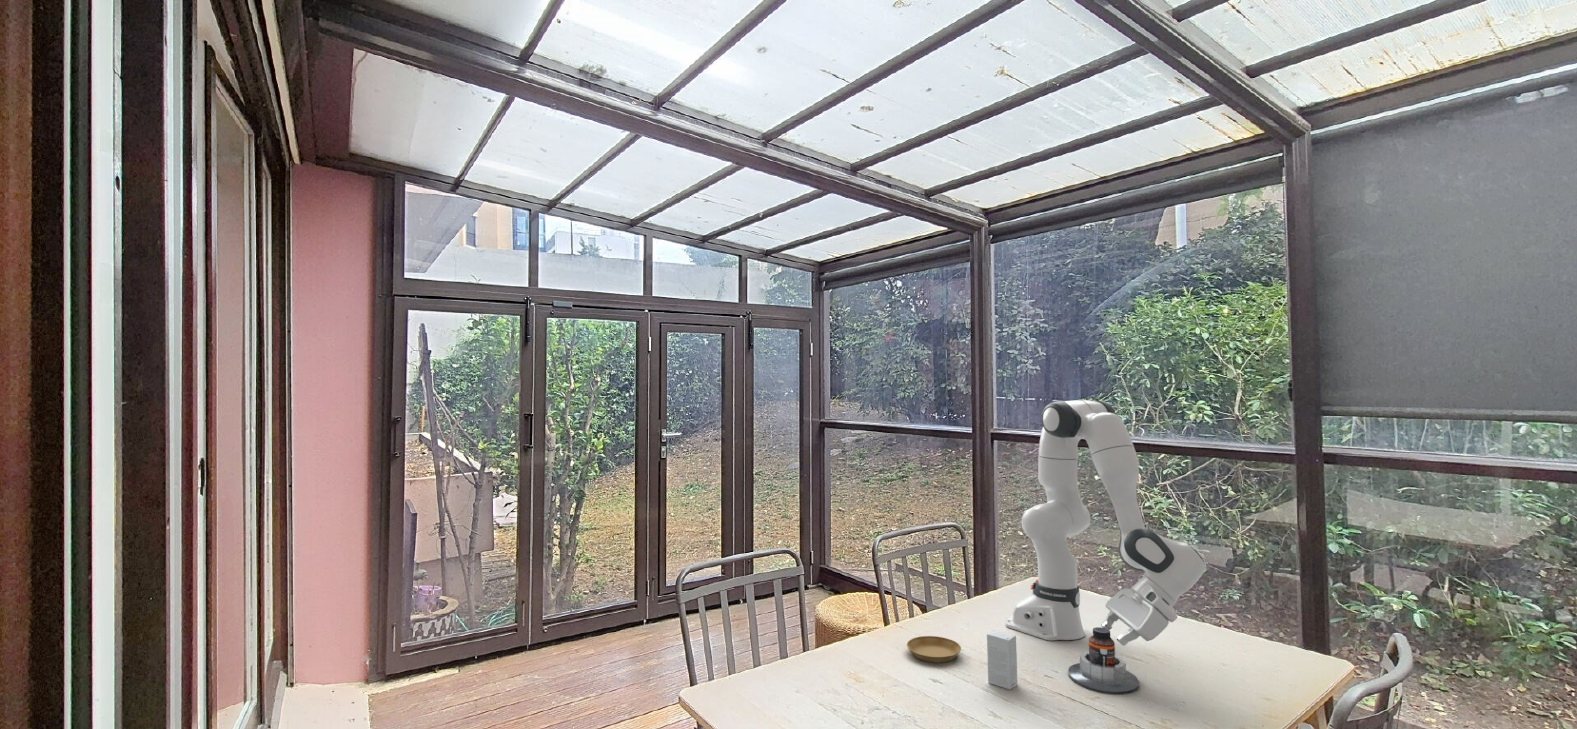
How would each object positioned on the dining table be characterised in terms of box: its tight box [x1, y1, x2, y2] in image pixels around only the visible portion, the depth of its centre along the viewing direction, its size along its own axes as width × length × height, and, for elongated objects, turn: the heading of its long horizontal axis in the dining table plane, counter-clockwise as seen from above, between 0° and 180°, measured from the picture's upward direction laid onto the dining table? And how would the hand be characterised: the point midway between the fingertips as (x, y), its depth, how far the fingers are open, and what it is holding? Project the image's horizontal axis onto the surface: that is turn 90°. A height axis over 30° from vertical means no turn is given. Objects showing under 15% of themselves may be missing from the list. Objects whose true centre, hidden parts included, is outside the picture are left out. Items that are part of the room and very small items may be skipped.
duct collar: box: [1067, 651, 1140, 695], centre depth 164 cm, size 16×16×5 cm
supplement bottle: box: [1088, 626, 1116, 666], centre depth 164 cm, size 6×6×11 cm
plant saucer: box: [906, 635, 962, 664], centre depth 180 cm, size 15×15×3 cm
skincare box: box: [986, 630, 1018, 690], centre depth 162 cm, size 6×4×12 cm
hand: (1111, 635), depth 164 cm, fingers open, 8 cm apart
